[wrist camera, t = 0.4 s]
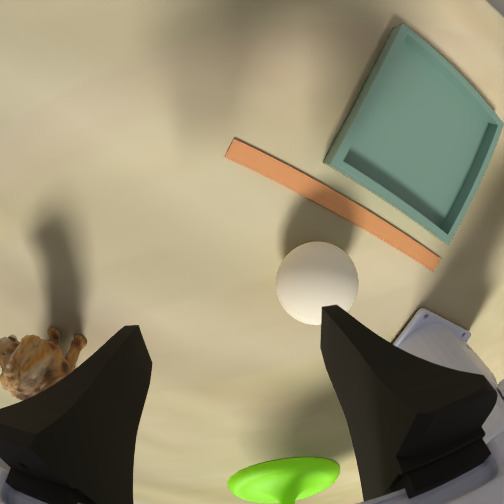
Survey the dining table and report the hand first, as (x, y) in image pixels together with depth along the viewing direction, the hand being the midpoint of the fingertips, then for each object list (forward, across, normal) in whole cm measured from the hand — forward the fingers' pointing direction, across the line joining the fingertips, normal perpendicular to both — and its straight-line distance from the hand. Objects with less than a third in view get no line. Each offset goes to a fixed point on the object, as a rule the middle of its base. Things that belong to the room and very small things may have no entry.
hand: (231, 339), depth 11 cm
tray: (+9, -14, -7) cm, 18 cm away
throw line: (+9, -8, -2) cm, 12 cm away
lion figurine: (+9, +17, +8) cm, 21 cm away
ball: (+9, -5, +2) cm, 10 cm away
